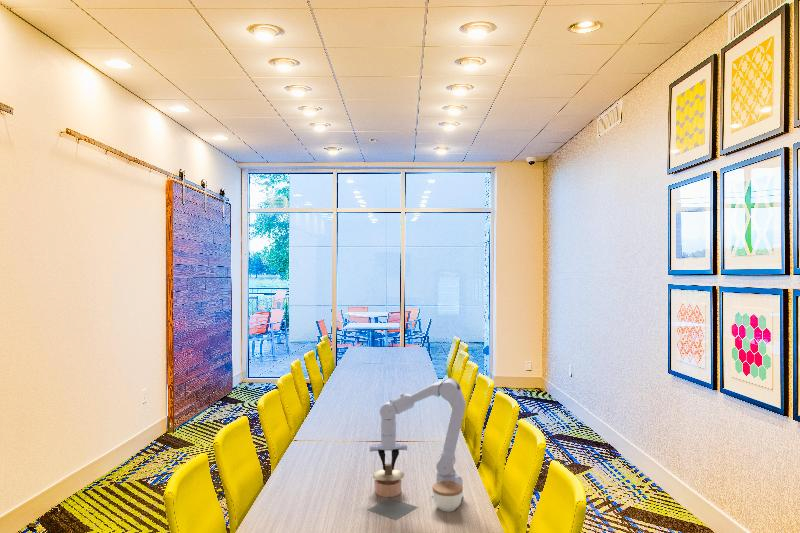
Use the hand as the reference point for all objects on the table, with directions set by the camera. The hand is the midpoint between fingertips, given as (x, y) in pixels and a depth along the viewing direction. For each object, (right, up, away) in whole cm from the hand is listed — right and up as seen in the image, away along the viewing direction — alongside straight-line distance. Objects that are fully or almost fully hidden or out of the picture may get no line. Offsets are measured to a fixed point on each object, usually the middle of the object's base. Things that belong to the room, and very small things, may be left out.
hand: (388, 469), depth 215 cm
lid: (0, -2, -1) cm, 2 cm away
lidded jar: (+22, -9, -15) cm, 28 cm away
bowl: (0, -9, 0) cm, 9 cm away
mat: (+2, -9, -15) cm, 18 cm away
